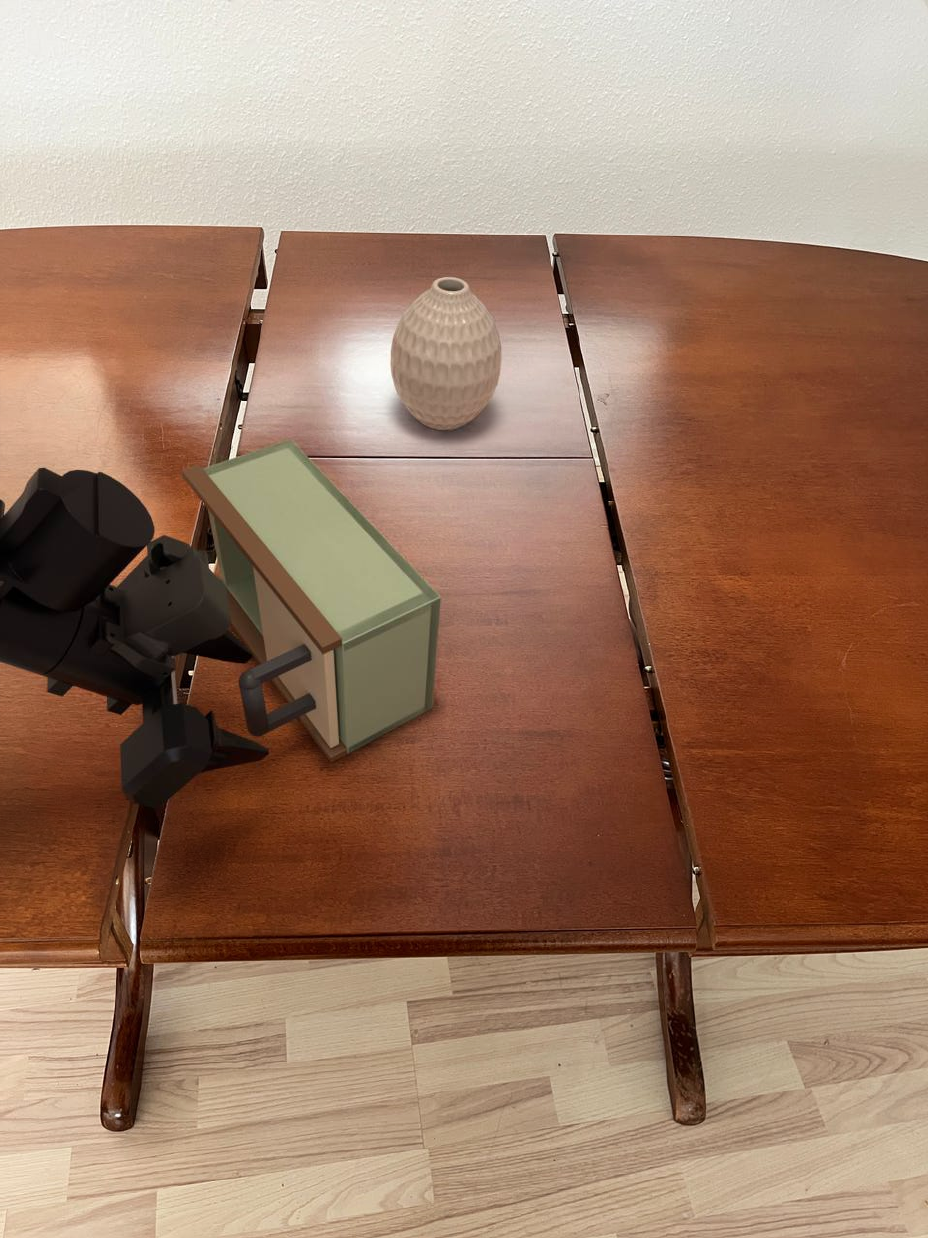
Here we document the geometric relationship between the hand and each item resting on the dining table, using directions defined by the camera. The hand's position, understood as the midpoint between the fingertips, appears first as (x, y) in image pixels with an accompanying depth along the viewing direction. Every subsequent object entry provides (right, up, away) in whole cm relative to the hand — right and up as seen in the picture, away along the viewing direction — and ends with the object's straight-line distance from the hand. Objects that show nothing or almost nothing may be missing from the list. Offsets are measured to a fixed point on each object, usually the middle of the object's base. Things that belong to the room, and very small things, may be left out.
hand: (257, 704), depth 64 cm
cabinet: (+2, +4, +14) cm, 15 cm away
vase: (+13, +31, +41) cm, 53 cm away
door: (-1, -2, +7) cm, 8 cm away
